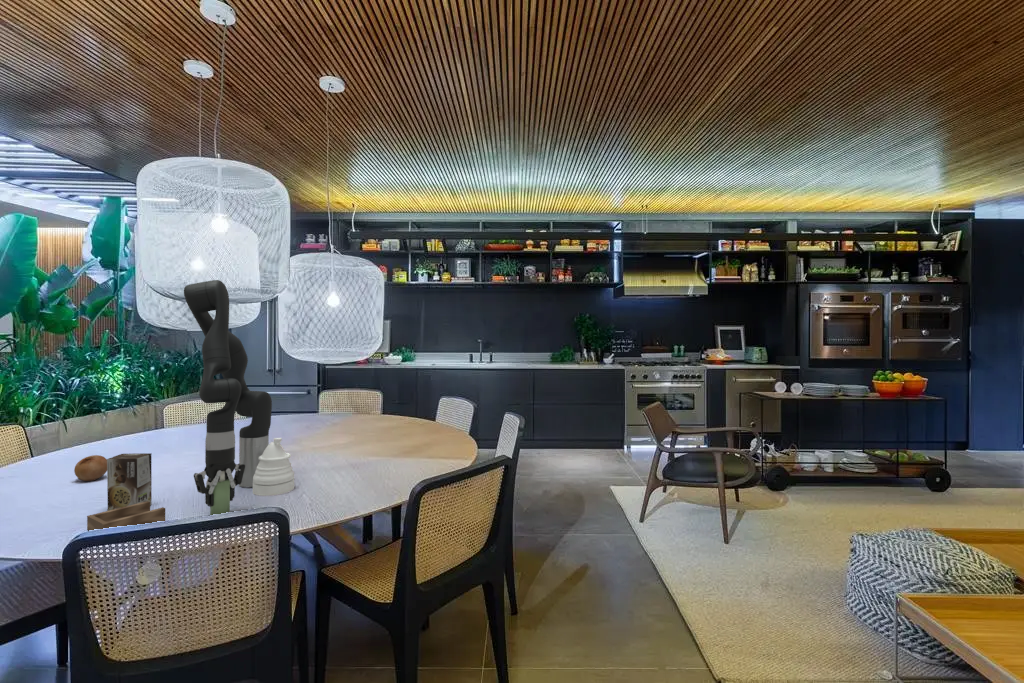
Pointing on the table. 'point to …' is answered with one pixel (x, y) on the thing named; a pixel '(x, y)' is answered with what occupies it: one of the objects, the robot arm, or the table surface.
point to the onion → (91, 468)
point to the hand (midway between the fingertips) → (220, 502)
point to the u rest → (126, 516)
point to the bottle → (221, 496)
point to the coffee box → (129, 480)
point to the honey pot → (273, 471)
